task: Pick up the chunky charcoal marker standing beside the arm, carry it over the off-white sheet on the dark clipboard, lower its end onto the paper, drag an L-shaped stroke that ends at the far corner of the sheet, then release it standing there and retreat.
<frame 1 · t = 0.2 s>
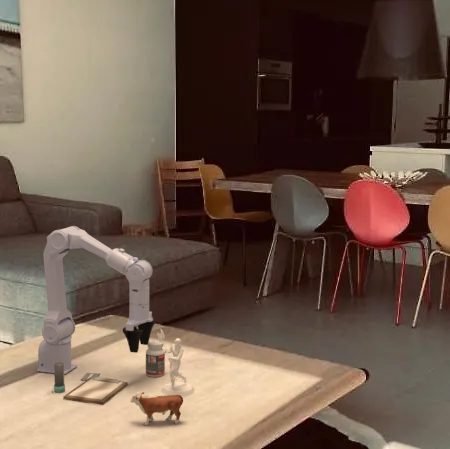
hand: (139, 348, 220), 10 cm above the table, fingers open, 7 cm apart
prompt card: (90, 377, 224), on the table
marker: (59, 391, 212), on the table
bull figurine: (156, 423, 192), on the table
figurine: (177, 390, 215), on the table
pill bottle: (155, 374, 227), on the table
board: (96, 391, 212), on the table
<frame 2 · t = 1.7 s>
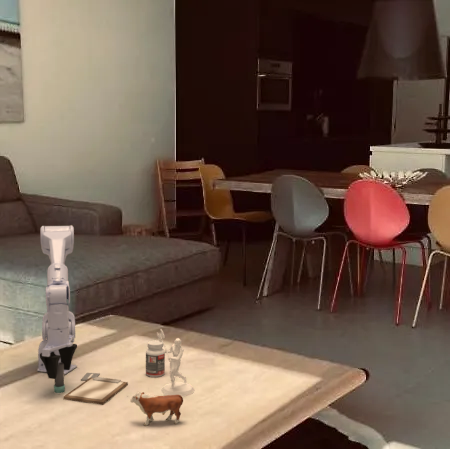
hand: (59, 373, 212), 5 cm above the table, fingers open, 7 cm apart
nothing on the table moved.
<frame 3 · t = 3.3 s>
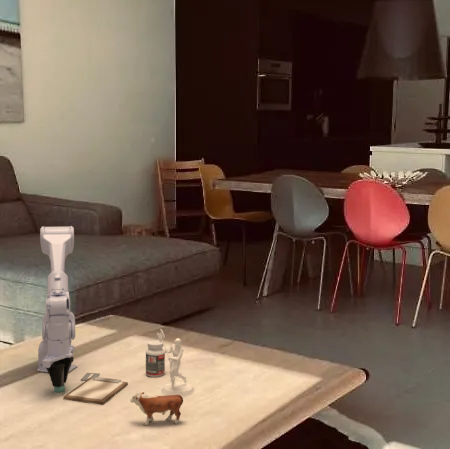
hand: (59, 384, 212), 2 cm above the table, fingers closed on marker, 3 cm apart
marker: (59, 391, 212), on the table, touching gripper
everything else where it was.
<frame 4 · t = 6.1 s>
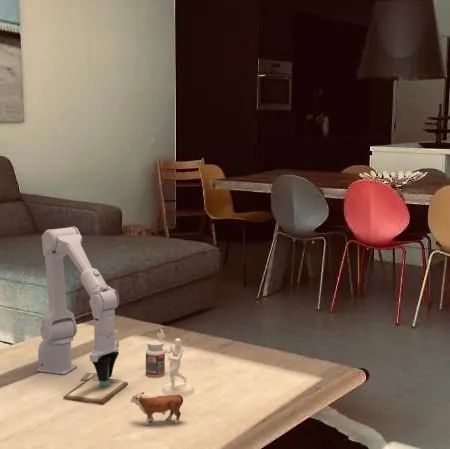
hand: (104, 378, 214), 3 cm above the table, fingers closed on marker, 3 cm apart
marker: (104, 385, 215), point 1 cm above the table, touching gripper
everything else where it was.
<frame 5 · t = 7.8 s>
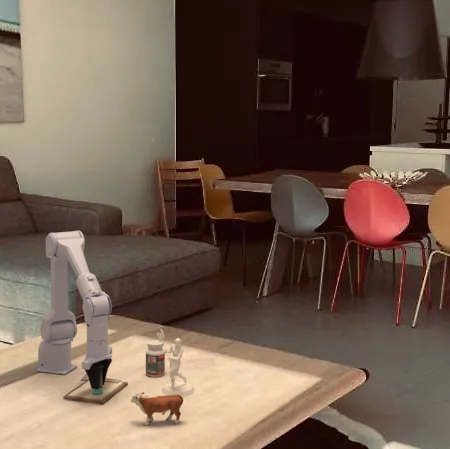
hand: (97, 386, 208), 3 cm above the table, fingers closed on marker, 3 cm apart
marker: (97, 393, 209), point 1 cm above the table, touching gripper
everything else where it was.
when the fingers open (3 cm above the table, at t = 9.1 s): marker stays where it is, resting on board.
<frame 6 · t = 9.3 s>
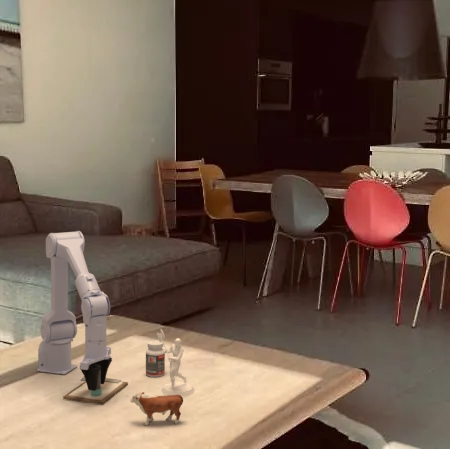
hand: (96, 386, 207), 3 cm above the table, fingers open, 4 cm apart
marker: (96, 394, 208), point 1 cm above the table, touching board
everything else where it was.
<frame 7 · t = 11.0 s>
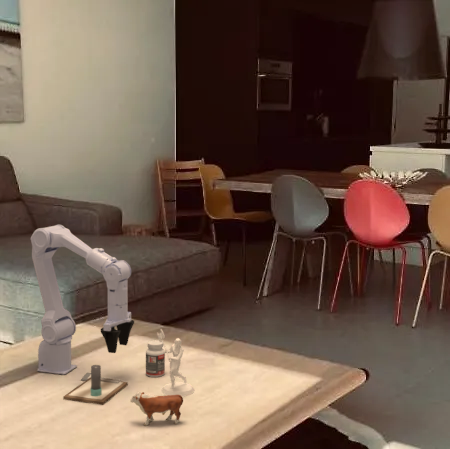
hand: (117, 348, 220), 10 cm above the table, fingers open, 7 cm apart
nothing on the table moved.
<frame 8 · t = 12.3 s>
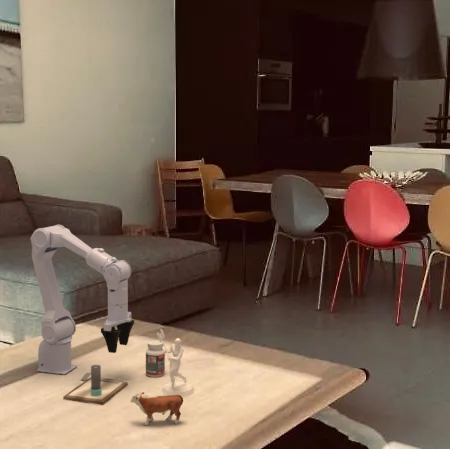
hand: (118, 348, 220), 10 cm above the table, fingers open, 7 cm apart
nothing on the table moved.
at the end: marker inside the target area on the board (4.4 cm from its centre), point 1.0 cm above the board's base; marker moved 12.0 cm from its start; the gripper is holding nothing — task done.
